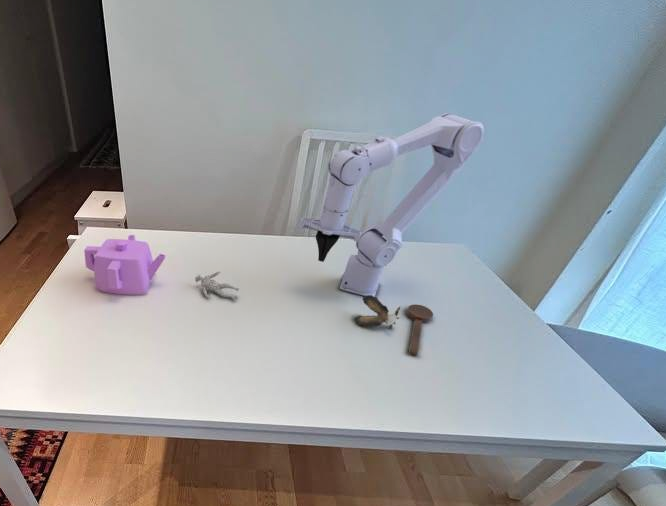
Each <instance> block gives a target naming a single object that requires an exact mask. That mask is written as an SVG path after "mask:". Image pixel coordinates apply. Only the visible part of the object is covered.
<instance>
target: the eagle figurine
mask: <svg viewBox="0 0 666 506" xmlns="http://www.w3.org/2000/svg"><path fill="white" fill-rule="evenodd" d="M361 299H362V301H363V304H365V305H366V306H367V307H368V309H370V310H371V311H373V312H374V313H376V314H377V315H357V316H356V317H354V319H353V320H354V321H355V322H356V324H357V325H359V326H373V327H380V326H381V325H383V323H385V324H386V326H388V327H389V328H390V330H391V329H392V328H393V325H396V324H397V323H396V321H397V320H399V319H400V317H398V315H399V312H400V310H401V306H398V307H397V309H396V310H395V312H394V313H391V314H389V312H390V310H389V309H388V307H387V305H384V304H383V303H382V302H381V301H380V300H379V299H378V297H377V296H375V297H374V296H371V295H368V296H367V295H366V296H363V297H362V298H361Z"/></svg>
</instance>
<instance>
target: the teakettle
mask: <svg viewBox="0 0 666 506" xmlns="http://www.w3.org/2000/svg"><path fill="white" fill-rule="evenodd" d="M127 237H128V238H127V239H124V238H123V239H121V238H107V239H105V240H104V242H103V243H102V244H101V246H93V245H87V246H86V247H85V248H84V252H83V253H84V261H85V268H86V269H88V270H90V271H92V272H94V282H95V285H96V287H97V289H98V291H100V292H103V293H110V294H115V295H125V296H126V295H127V296H129V295H130V296H142V295H145V294H146V293H147V291H148V289H149V287H150V285H151V282H152V280H153V277H154V276H155V274H156V272H157V271H158V270H159V268H160V266H161V265H162V264H163V262H164V261H165V259H166V257H167V255H166V254H164V253H159V254H158V255H157V257H156V258H155V259H154V258H153V254H152V252H151V249H150V246H149V243H148V242H146V241H141V240H136V235H135V234H129V235H128V236H127Z"/></svg>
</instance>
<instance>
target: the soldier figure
mask: <svg viewBox="0 0 666 506" xmlns="http://www.w3.org/2000/svg"><path fill="white" fill-rule="evenodd" d="M219 274H222V272H221V271H216V272H214V273H211V274H208V275H205V276H204V277H203V276H202V275H201V274H196V276H195V278H194V281H195V282H196V283H198V282H200V287H201V289H202V292H203V295H204V296H205V298H207V299H208V298H209V295H208V291H212V292H213V293H215V294H217V295H219V296H220V297H223V298H231V299H232V300H234V299H235V297H236V296H235V295H232V294H229V293H227V292H225V291H223V290H224V289H230V290H234V291H236V292H239V290H240V288H238V287H235V286H234V285H232V284H230V283H223V282H222V283H219V282H217V281H216V280H215V279H213V278H215V277H216V276H219ZM207 290H208V291H207Z"/></svg>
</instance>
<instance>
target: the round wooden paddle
mask: <svg viewBox="0 0 666 506" xmlns="http://www.w3.org/2000/svg"><path fill="white" fill-rule="evenodd" d="M405 313H406V315H407V317H408V318H409V319H411V320H413V326H412V332H411V337H410V338H411V339H410V345H409V350H408V355H411V356H414V357H417V356H418V354H419V353H418V352H419V345H420V340H421V339H420V338H421V331H422V326H423V325H422V324H423V323H424V324H425V323H429V322H431V320H432V318H433V316H434V313H433V311H432V309H430V308H429V307H427V306H425V305H422V304H415V303H414V304H410V305H409V306H408V307H407V310H406V312H405Z"/></svg>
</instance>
